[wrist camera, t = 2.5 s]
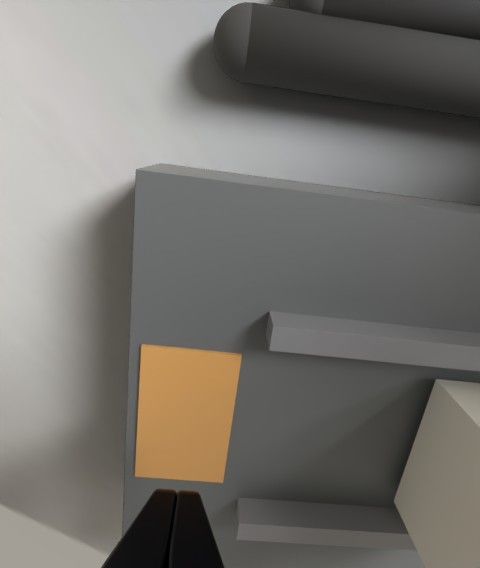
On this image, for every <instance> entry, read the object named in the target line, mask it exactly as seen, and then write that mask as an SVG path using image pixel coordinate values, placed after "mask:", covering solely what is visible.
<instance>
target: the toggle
mask: <svg viewBox="0 0 480 568" xmlns="http://www.w3.org/2000/svg"><path fill="white" fill-rule="evenodd" d="M394 503H395V505H396V507H397V509H398V511H399V514H400V516H401V518H402V520H403V522H404V524H405V526H406V528H407V531H408V533H409V535H410V537H411V539H412V541H413V543H414V545H415V548H416V550H417V552H418V554H419V556H420V558H421V560H422V562H423V565H424V567H425V568H480V383H473V382H463V381H452V380H442V379H436V380H435V383H434V386H433V389H432V392H431V395H430V398H429V400H428V403H427V406H426V409H425V412H424V415H423V418H422V421H421V424H420V426H419V429H418V432H417V435H416V438H415V441H414V444H413V447H412V449H411V452H410V455H409V458H408V461H407V464H406V467H405V470H404V473H403V475H402V478H401V481H400V484H399V487H398V490H397V493H396V496H395V499H394Z"/></svg>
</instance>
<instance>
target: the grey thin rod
mask: <svg viewBox="0 0 480 568" xmlns="http://www.w3.org/2000/svg"><path fill="white" fill-rule="evenodd" d="M289 4H290V8H291V9H294V10H300V11H305V12H310V13H315V14H320V15H327V16H333V17H340V18H346V19H353V20H359V21H366V22H372V23H378V24H384V25H390V26H396V27H402V28H409V29H415V30H421V31H427V32H433V33H439V34H445V35H451V36H457V37H463V38H469V39H475V40H480V0H289Z"/></svg>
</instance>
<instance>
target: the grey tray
mask: <svg viewBox="0 0 480 568" xmlns="http://www.w3.org/2000/svg"><path fill="white" fill-rule="evenodd" d="M436 379H442V380H452V381H463V382H473V383H480V206H478V205H470V204H463V203H455V202H447V201H440V200H432V199H425V198H417V197H410V196H402V195H395V194H387V193H379V192H372V191H364V190H357V189H349V188H342V187H334V186H326V185H319V184H311V183H304V182H296V181H289V180H281V179H274V178H266V177H258V176H251V175H243V174H236V173H228V172H221V171H213V170H205V169H198V168H190V167H183V166H175V165H168V164H156V165H152V166H148V167H144V168H140V169H136V184H135V211H134V237H133V263H132V290H131V316H130V342H129V368H128V395H127V421H126V447H125V474H124V500H123V526H122V537H123V535H124V534H125V532H126V531H127V529H128V528H129V526H130V525H131V523H132V522H133V521H134V519H135V518H136V516H137V515H138V513H139V512H140V510H141V509H142V507H143V506H144V505H145V503H146V502H147V500H148V499H149V497H150V496H151V494H152V493H153V492H154V491H155V490H156V489H158V488H162V489H174V490H175V491H176V492H177V493H178V491H180V490H190V491H197V492H199V494H200V496H201V499H202V502H203V505H204V508H205V511H206V514H207V517H208V520H209V523H210V526H211V529H212V532H213V535H214V538H215V541H216V544H217V546H218V549H219V552H220V555H221V558H222V561H223V564H224V567H225V568H425V567H424V565H423V562H422V560H421V558H420V556H419V554H418V552H417V550H416V548H415V545H414V543H413V541H412V539H411V537H410V535H409V533H408V531H407V528H406V526H405V524H404V522H403V520H402V518H401V516H400V514H399V511H398V509H397V507H396V505H395V503H394V499H395V496H396V493H397V490H398V487H399V484H400V481H401V478H402V475H403V473H404V470H405V467H406V464H407V461H408V458H409V455H410V452H411V449H412V447H413V444H414V441H415V438H416V435H417V432H418V429H419V426H420V424H421V421H422V418H423V415H424V412H425V409H426V406H427V403H428V400H429V398H430V395H431V392H432V389H433V386H434V383H435V380H436Z"/></svg>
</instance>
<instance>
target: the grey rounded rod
mask: <svg viewBox="0 0 480 568" xmlns="http://www.w3.org/2000/svg"><path fill="white" fill-rule="evenodd" d="M214 52H215V56H216V59H217V62H218V63H219V65H220V67H221V68H222V70H223V71H224V72H225V73H226V74H227V75H228V76H230V77H231V78H233V79H235V80H237V81H241V82H245V83H252V84H259V85H265V86H272V87H279V88H285V89H292V90H299V91H305V92H312V93H319V94H325V95H332V96H339V97H345V98H352V99H359V100H365V101H372V102H379V103H385V104H392V105H399V106H405V107H412V108H419V109H425V110H432V111H439V112H445V113H452V114H459V115H465V116H472V117H479V118H480V40H475V39H469V38H463V37H457V36H451V35H445V34H439V33H433V32H427V31H421V30H415V29H409V28H402V27H396V26H390V25H384V24H378V23H372V22H366V21H359V20H353V19H346V18H340V17H333V16H327V15H320V14H315V13H310V12H305V11H300V10H294V9H288V8H282V7H276V6H270V5H264V4H258V3H246V2H245V3H240V4H237V5H235V6H233V7H231V8H230V9H229V10H227V11H226V12H225V13H224V14H223V16H222V17H221V18H220V20H219V22H218V24H217V26H216V29H215V33H214Z"/></svg>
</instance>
